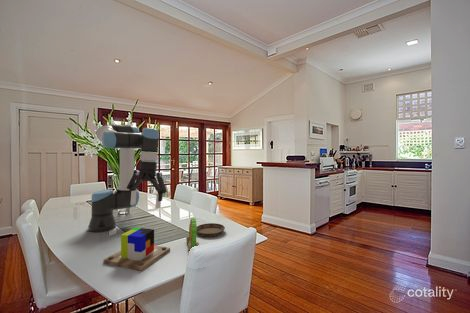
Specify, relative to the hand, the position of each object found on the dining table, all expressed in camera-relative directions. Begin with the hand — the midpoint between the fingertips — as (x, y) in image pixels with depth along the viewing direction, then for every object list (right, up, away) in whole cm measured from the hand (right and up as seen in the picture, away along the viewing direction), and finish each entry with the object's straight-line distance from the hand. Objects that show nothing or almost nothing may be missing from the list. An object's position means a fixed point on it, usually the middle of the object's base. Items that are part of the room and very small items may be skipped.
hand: (145, 206), depth 108 cm
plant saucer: (+27, -23, +30) cm, 47 cm away
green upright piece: (+21, -23, +9) cm, 32 cm away
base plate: (-2, -23, -2) cm, 23 cm away
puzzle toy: (-2, -21, -3) cm, 22 cm away
